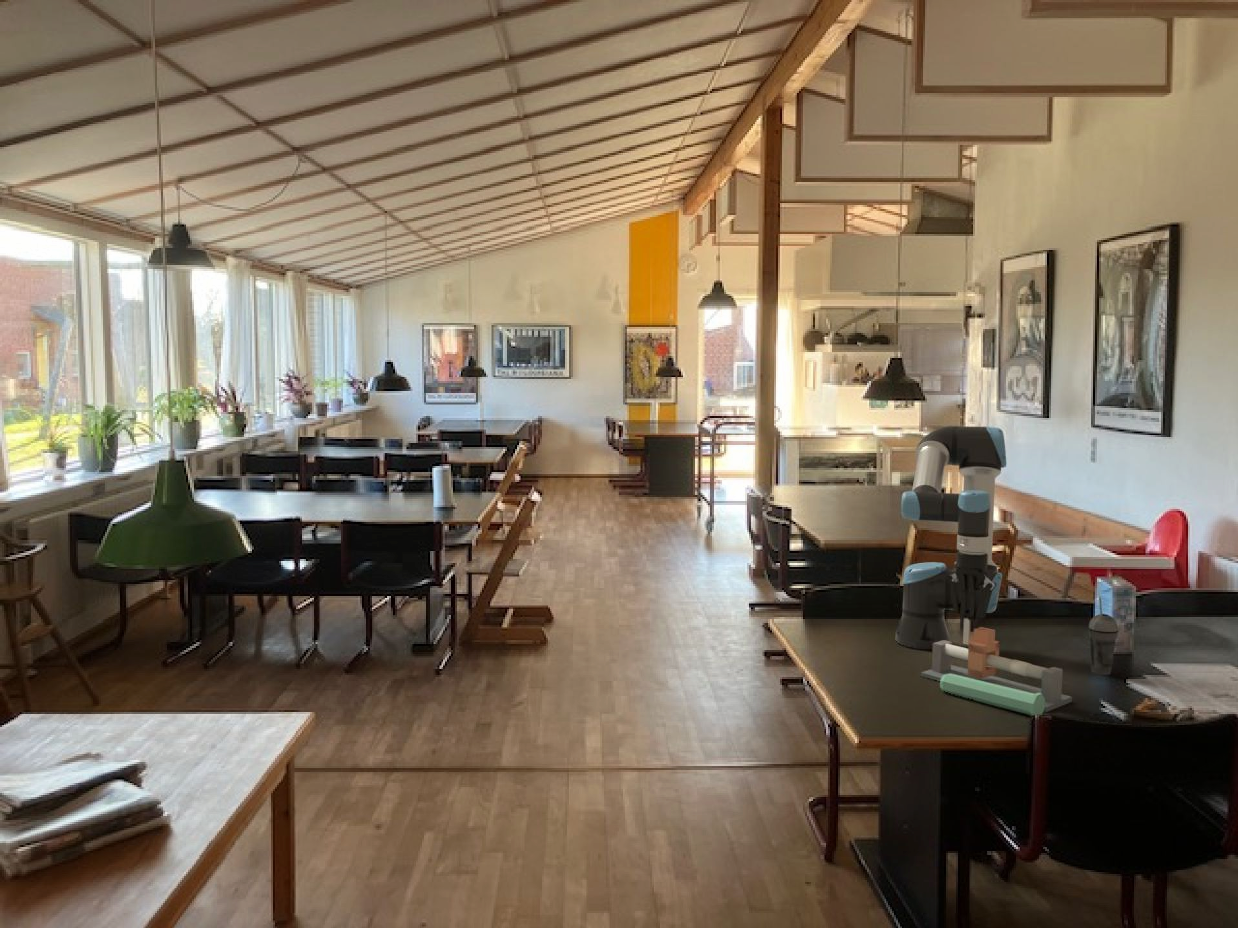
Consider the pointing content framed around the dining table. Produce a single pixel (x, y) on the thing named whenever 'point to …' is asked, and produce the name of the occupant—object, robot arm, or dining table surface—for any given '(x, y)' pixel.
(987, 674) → the collar
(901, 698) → the dining table surface
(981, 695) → the light green long prism
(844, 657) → the dining table surface
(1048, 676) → the rail
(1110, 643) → the beverage cup
